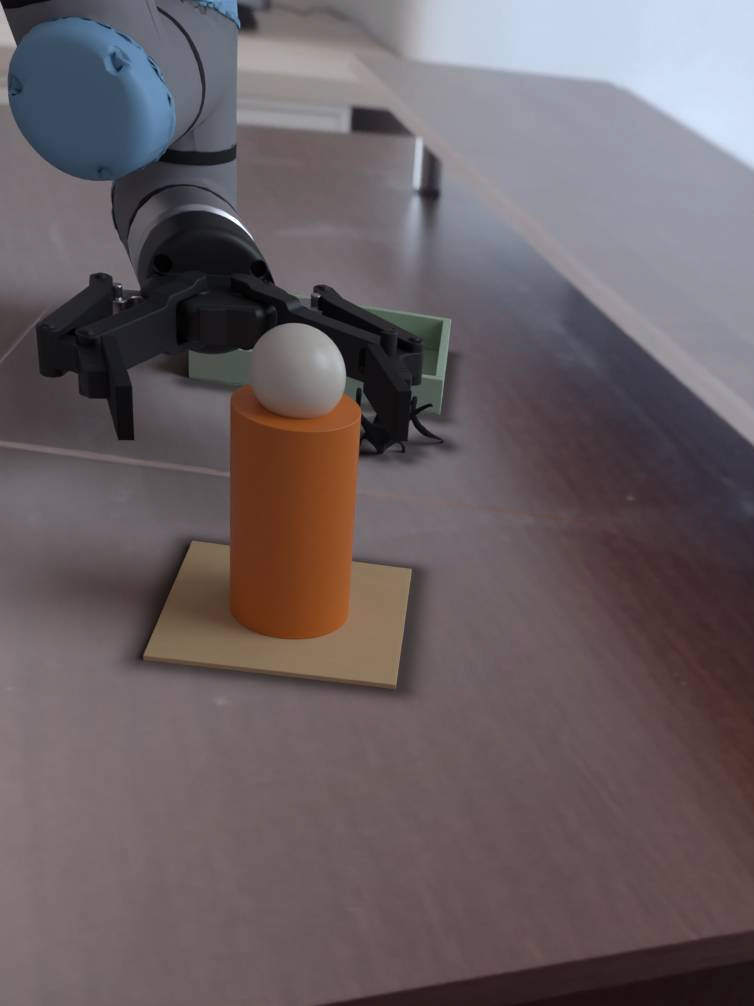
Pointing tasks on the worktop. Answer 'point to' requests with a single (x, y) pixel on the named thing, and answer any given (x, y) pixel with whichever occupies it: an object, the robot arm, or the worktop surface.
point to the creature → (379, 433)
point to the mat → (229, 645)
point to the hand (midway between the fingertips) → (269, 415)
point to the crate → (428, 392)
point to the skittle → (293, 486)
